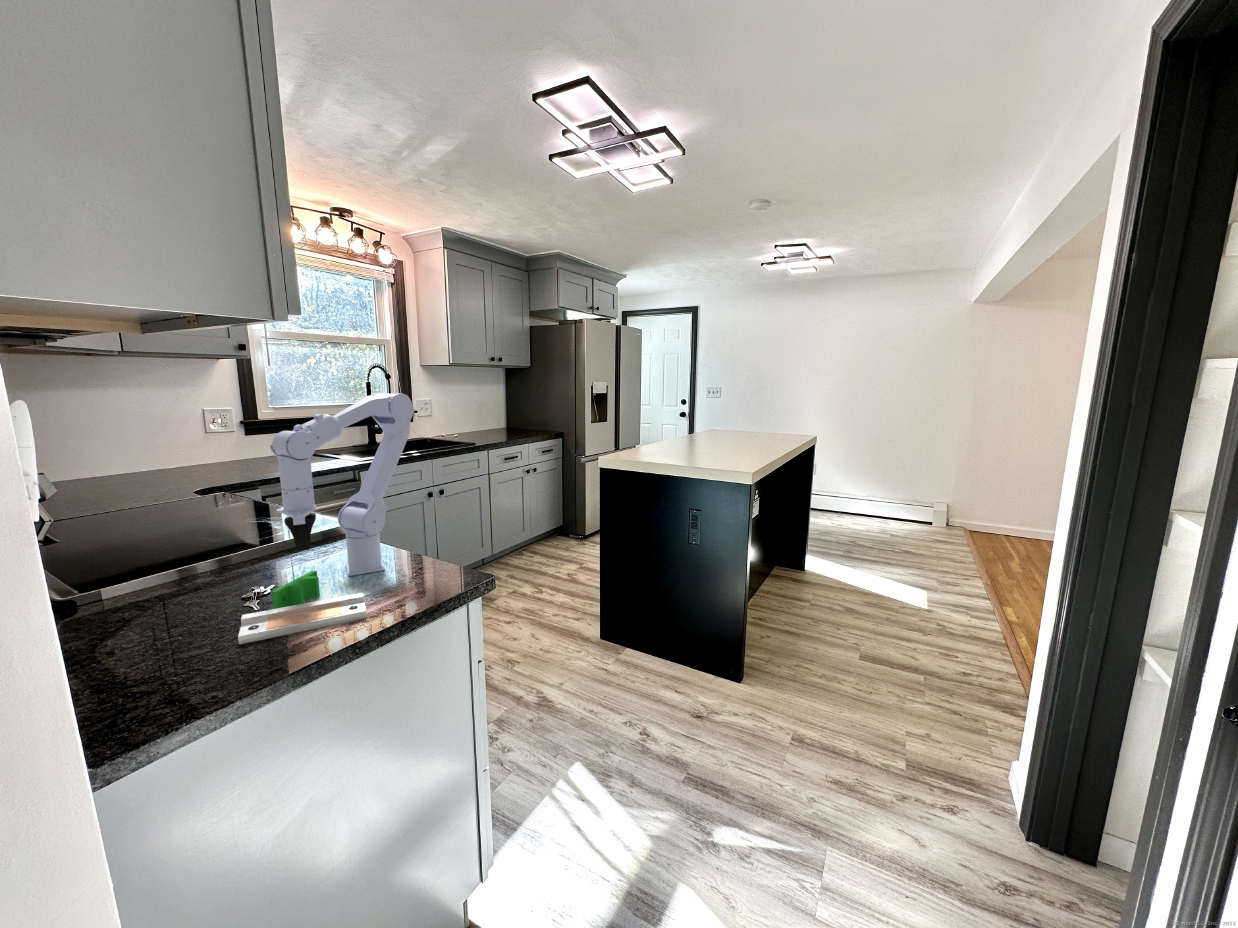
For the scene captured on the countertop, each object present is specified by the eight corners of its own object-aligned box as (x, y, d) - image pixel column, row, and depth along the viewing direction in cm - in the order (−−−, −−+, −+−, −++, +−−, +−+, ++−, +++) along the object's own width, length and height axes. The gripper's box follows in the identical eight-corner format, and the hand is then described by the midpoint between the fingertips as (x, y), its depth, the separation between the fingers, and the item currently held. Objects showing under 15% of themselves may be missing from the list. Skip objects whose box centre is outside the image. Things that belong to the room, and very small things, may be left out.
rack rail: (243, 627, 94) (242, 614, 93) (363, 603, 104) (362, 592, 103) (239, 644, 88) (237, 631, 87) (366, 617, 98) (365, 605, 97)
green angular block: (291, 614, 100) (288, 592, 99) (274, 613, 100) (271, 591, 99) (329, 590, 110) (327, 570, 110) (314, 589, 111) (311, 569, 110)
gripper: (276, 483, 111) (283, 542, 113) (272, 496, 98) (279, 562, 101) (314, 480, 114) (319, 537, 117) (314, 492, 102) (320, 556, 104)
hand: (303, 548), depth 109 cm, fingers closed
